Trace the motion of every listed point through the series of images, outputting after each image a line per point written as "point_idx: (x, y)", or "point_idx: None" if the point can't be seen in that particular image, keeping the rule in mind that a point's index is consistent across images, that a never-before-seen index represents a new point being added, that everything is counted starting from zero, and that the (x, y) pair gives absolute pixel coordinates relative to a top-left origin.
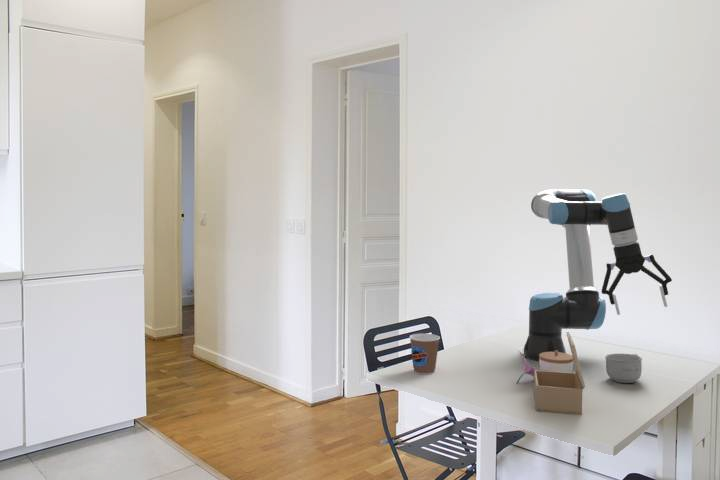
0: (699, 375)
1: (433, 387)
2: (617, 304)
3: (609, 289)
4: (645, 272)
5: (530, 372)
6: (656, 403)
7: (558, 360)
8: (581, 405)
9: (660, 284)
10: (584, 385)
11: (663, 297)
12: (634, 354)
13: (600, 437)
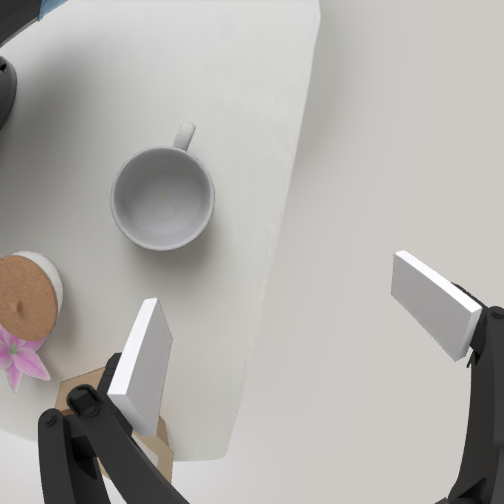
0: (305, 68)
1: None
2: (164, 379)
3: (93, 435)
4: (462, 475)
5: (21, 354)
6: (248, 314)
7: (42, 337)
8: (165, 431)
9: (477, 310)
10: (173, 454)
11: (420, 319)
12: (186, 139)
13: (209, 453)
